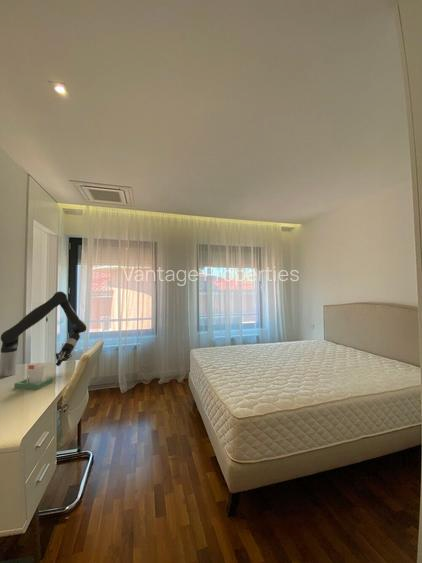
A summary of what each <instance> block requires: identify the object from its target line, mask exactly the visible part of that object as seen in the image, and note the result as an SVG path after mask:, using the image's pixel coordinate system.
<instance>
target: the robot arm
mask: <svg viewBox="0 0 422 563" xmlns="http://www.w3.org/2000/svg"><path fill="white" fill-rule="evenodd" d="M58 306H60V307H61V309H62V310H63V312H64V314H65V316H66V318H67V319H68V321H69V322H70V324H71V325H74V326H73V328H72V331H71V334H70V336H69V337H68V339H67V340H66V341H65V343H64V345H63V346H62V347H61V350H60V351H59V352H56V353H55V358H56V360H57V362H56V363H55V366H57V367H60V366H61V365H62V363H63V362H66V361H67V360H68V359H71V357H73V355H72V352H73V351H74V349H75V347H76V346H77V343H78V341H79V340H80V336H81V335H80V333H84V332H86V331H87V325H86V324H85V323H84V321H83V320H82V319H80V317H79V316H78V314H77V313H76V311H75V310H74V309H73V306H71V303H70V301H69V299H68V295H67V294H66V292H65V291H62V290H61V291H57V292H55V293H54V295H53V296H52V297H51V298H50V299H48V300H47V301H46V302H44V303H43V304H41V305H39V306H37V307H35V308H34V309H33V310H31V311H30V312H28V314H26V315H25V316H23V318H22V319H21V320H19V322H18V323H16V324H15V325H13V326H12V327H10V328H9V329H7V330H5V331H4V332H2V334H1V335H0V340H1V343H2V344H1V348H0V377H9V376H13V375H15V374H16V372H17V360H18V347H19V339H20V338H19V337H20V336H21V334H23V333H24V332H25V331H26V330H29V329H30V328H31V327H32V326H35V325H36V324H38V323H39V322H40V321H42V320H43V319H44V318H45V317H46V316H48V315H49V313H51V312H52V311H53V310H54V309H55V308H57V307H58Z"/></svg>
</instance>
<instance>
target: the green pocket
mask: <svg viewBox="0 0 422 563" xmlns="http://www.w3.org/2000/svg"><path fill="white" fill-rule="evenodd" d="M29 369H34V365H31V364H27V368H26V378H25V379H22V380H19V381H17V382H15V383H14V384H13V385H14V389H21V390H34V391H38V390H40V389H43V388H44V387H46V386H48V385H50V384H52V383H54V377H49V378H47V379H44V380H42V382H41V383H38V384H31V383H29Z"/></svg>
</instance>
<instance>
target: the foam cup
mask: <svg viewBox="0 0 422 563" xmlns="http://www.w3.org/2000/svg"><path fill="white" fill-rule="evenodd" d="M30 365H34V369H29V375H28V378H29V383H31V384H38V383H41V382H43V379H44V373H45V370H46V363H45V362H38V363H32V364H30Z"/></svg>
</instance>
